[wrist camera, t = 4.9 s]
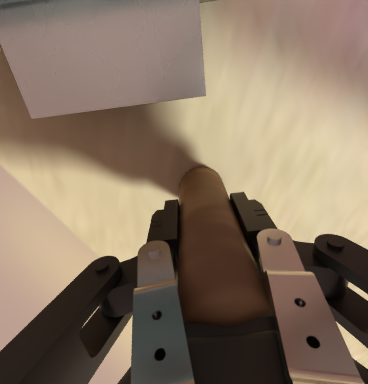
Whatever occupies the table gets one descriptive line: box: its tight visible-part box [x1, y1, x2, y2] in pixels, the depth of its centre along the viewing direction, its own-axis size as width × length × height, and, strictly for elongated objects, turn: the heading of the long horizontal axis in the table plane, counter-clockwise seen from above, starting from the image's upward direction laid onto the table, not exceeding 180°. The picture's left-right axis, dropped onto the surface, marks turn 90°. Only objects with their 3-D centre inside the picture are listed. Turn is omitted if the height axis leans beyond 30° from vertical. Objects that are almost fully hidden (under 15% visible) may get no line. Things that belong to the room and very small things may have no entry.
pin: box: [177, 167, 272, 328], centre depth 11 cm, size 3×3×10 cm
